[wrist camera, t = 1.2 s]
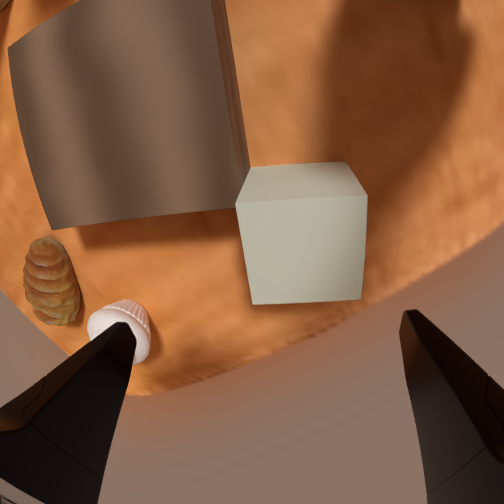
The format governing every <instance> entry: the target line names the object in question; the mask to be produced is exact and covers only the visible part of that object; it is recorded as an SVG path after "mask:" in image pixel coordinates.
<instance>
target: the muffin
mask: <svg viewBox="0 0 504 504" xmlns="http://www.w3.org/2000/svg"><path fill="white" fill-rule="evenodd" d="M115 322H127V323H128V324H129V326H130V328H131V330H132V331H133V333H134V335H135V337H136V340H137V346H136V350H135V355H134V360H133V365H134V364H138V363H140V362H142V361H144V360H145V359H146V358H147V356H148V354H149V351H150V340H151V333H150V327H149V320H148V315H147V312H146V310H144V308H143V307H142V306H141V305H140V304H138V303H137V302H134V301H132V300H128V299H127V300H125V299H124V300H120V301H118V302H115V303H112V304H110V305H107V306H104V307H103V308H101V309H100V310H98V311H96V312H94V313H93V314H92V315H91V316H90V318H89V320H88V324H87V330H88V334H89V337H90V341H91V340H93V339H94V338H95V337H97V336H98V335H99V334H101V333H102V332H103V331H105V330H106V329H107V328H109V327H110V326H111V325H113V324H114V323H115Z"/></svg>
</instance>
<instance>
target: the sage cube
mask: <svg viewBox="0 0 504 504" xmlns="http://www.w3.org/2000/svg"><path fill="white" fill-rule="evenodd" d="M367 197H368V195H367V194H366V192H365V190H364V189H363V187H362V186H361V184H360V182H359V181H358V179H357V178H356V176H355V175H354V173H353V171H352V170H351V168H350V167H349V165H348V164H347V162H346V161H341V162H318V163H301V164H287V165H274V166H262V167H252V168H250V170H249V173H248V175H247V177H246V179H245V182H244V184H243V186H242V189H241V191H240V193H239V196H238V198H237V201H236V203H235V205H236V211H237V217H238V223H239V229H240V234H241V240H242V246H243V252H244V258H245V263H246V269H247V275H248V281H249V286H250V292H251V298H252V304H253V305H254V304H285V303H307V302H327V301H343V300H358V299H361V294H362V284H363V273H364V261H365V246H366V228H367Z"/></svg>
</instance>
